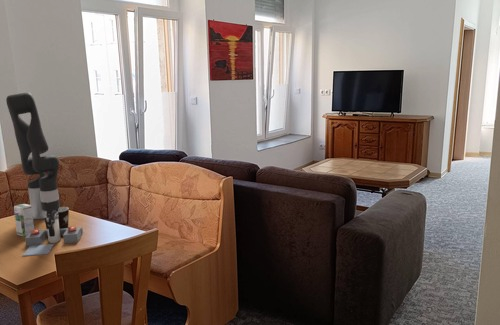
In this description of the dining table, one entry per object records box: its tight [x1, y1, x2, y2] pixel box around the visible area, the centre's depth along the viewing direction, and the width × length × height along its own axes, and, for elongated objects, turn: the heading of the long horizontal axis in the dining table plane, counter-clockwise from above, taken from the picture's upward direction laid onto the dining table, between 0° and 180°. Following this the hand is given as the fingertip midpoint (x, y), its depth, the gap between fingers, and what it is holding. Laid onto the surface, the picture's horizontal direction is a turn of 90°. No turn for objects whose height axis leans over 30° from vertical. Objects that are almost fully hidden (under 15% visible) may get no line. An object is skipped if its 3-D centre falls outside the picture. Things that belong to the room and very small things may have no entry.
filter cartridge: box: [44, 215, 62, 244], centre depth 182 cm, size 5×5×12 cm
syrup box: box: [13, 203, 35, 238], centre depth 190 cm, size 6×6×14 cm
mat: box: [22, 243, 55, 257], centre depth 173 cm, size 10×10×1 cm
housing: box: [24, 226, 84, 247], centre depth 184 cm, size 12×22×4 cm, turn 102°
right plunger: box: [68, 225, 76, 233], centre depth 184 cm, size 4×4×4 cm
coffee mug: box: [58, 206, 70, 229], centre depth 196 cm, size 12×9×10 cm
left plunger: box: [30, 228, 40, 236], centre depth 181 cm, size 4×4×4 cm
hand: (53, 233), depth 182 cm, fingers closed on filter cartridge, 5 cm apart
